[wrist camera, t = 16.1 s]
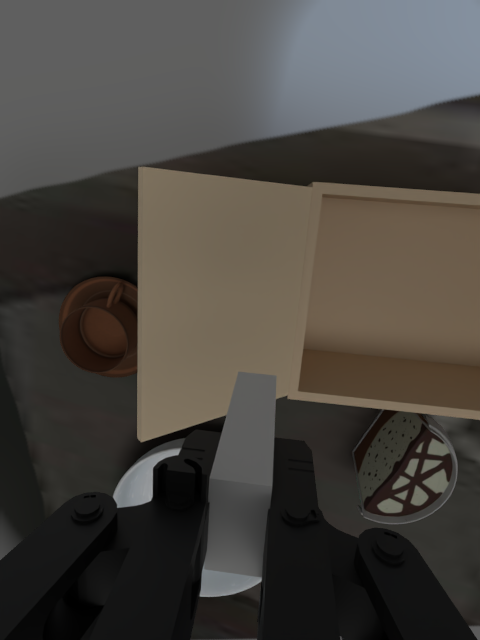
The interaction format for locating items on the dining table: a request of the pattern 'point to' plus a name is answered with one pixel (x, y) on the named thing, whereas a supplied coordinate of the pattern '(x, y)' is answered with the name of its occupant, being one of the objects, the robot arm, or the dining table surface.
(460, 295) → the carton
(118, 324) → the cup and saucer
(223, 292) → the flap
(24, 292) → the dining table surface
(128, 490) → the serving bowl
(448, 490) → the food container
